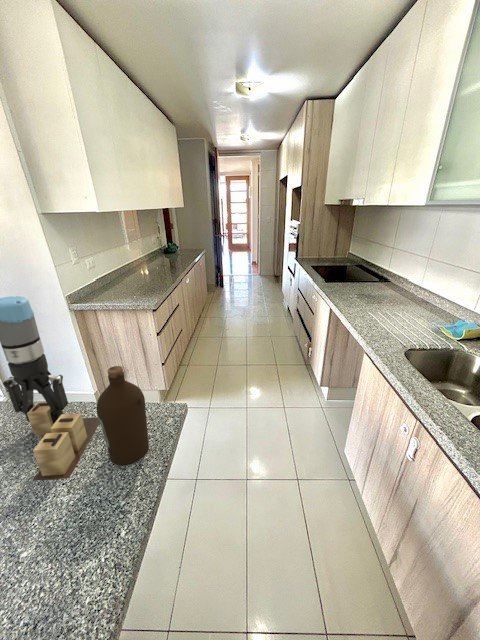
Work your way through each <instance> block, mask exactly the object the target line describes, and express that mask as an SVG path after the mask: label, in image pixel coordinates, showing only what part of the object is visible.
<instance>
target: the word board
mask: <svg viewBox="0 0 480 640" xmlns="http://www.w3.org/2000/svg"><path fill="white" fill-rule="evenodd" d="M82 418H83V422H84V426H85V430H86V434H87V438H86V439H85V441H84V443H83V444H82V446H81V448H80V450H79V451H77V452H74V454H75V458H74V459H73V461H72V463H71V465H70V466H69V468H68V470H67V471H66V473H65V474H63V475H49V476H42V474H41V471H40V470H39V471H38V472H37V474H36V475H35V477H34V478H33V480H32V481H35V482H37V481H48V480H49V481H50V480H62V479H70V478H71V476H72V475H73V472H74V471H75V469H76V468H77V465H78V463H79V462H80V460H81V458H82V457H83V455H84V453H85V451H86V450H87V448H88V446H89V444H90V442H91V440H92V438H93V436H94V435H95V434H96V431H97V430H98V428H99V426H100V422H99V418H98V416H97V417H82Z"/></svg>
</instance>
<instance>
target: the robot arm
mask: <svg viewBox="0 0 480 640" xmlns="http://www.w3.org/2000/svg"><path fill="white" fill-rule="evenodd" d="M38 329H39V328H38V325H37V322H36V317H35V312H34V310H33V308H32V306H31V304H30V301H29V299H28V298H26V297H25V296H19V295H18V296H17V295H16V296H13V295H12V296H4V297H0V346H1V349H2V351H3V354H4V357H5V360H6V362H7V366H8V369H9V371H10V374H11V376H9V377H8V378H7V379H5V380H4V381H3V382H2V386H4V388H6V390H7V393H8V394H9V398H10V401H11V404H12V407H13V410H14V412H15V413H23V414H24V415H25V418H26V421H27V422H28V423H30V421H29V418H28V416H27V413H28V412H29V411H30V410H31V409H32V408H33V407H34V406H35V405H36V404H34V391H36V392H37V393H38V394H39V395H41V396H42V397H43V399H44V401H46V402H47V404H48V405H49V407H50V408H51V410H52V412H51V413H50V415H51V418H52V421H53V424H54V423H55V422H56V421H57V419H58V418H59V417H60V416H61V414H64V411H63V410H64V409H65V408H66V407H67V406H68V405H69V401H68V397H67V395H66V394H67V393H66V390H65V388H64V387H65V386H64V383H63V380H64V376H63V375H62V374H59V375H52V373H51V372H50V371H49V364H48V361H47V357H46V354H45V349H44V346H43V343H42V340H41V337H40V333H39V330H38Z"/></svg>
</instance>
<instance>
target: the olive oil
mask: <svg viewBox="0 0 480 640" xmlns="http://www.w3.org/2000/svg"><path fill="white" fill-rule="evenodd" d="M125 377H126V376H125V372H124V368H123V366H121V365H114V366H111V367H109V368H108V369H107V378H108V382H109V384H108V386H107V387H106V388H105V389H104V390H103V391H102V392H101V394H100V395H99V397H98V399H97V403H96V415H97V417H98V418H99V422H100V424H99V426H100V427H101V431H102V434H103V439H104V440H105V443H106V448H107V451H108V454H109V455H108V456H109V459H110V461H111V462H112V463H113V464H114V465H115V466H119V467H126V466H131V465H134V464H136V463H138V462H139V461H140V460H142V459H143V458H144V457H145V456H146V455H148V452H149V449H150V444H149V434H148V433H149V432H148V423H147V409H146V399H145V395H144V392H143V390H142V389H141V388H140V387H139V386H138V385H136V384H134V383H132V382H130V381H128V380H126V378H125Z"/></svg>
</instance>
